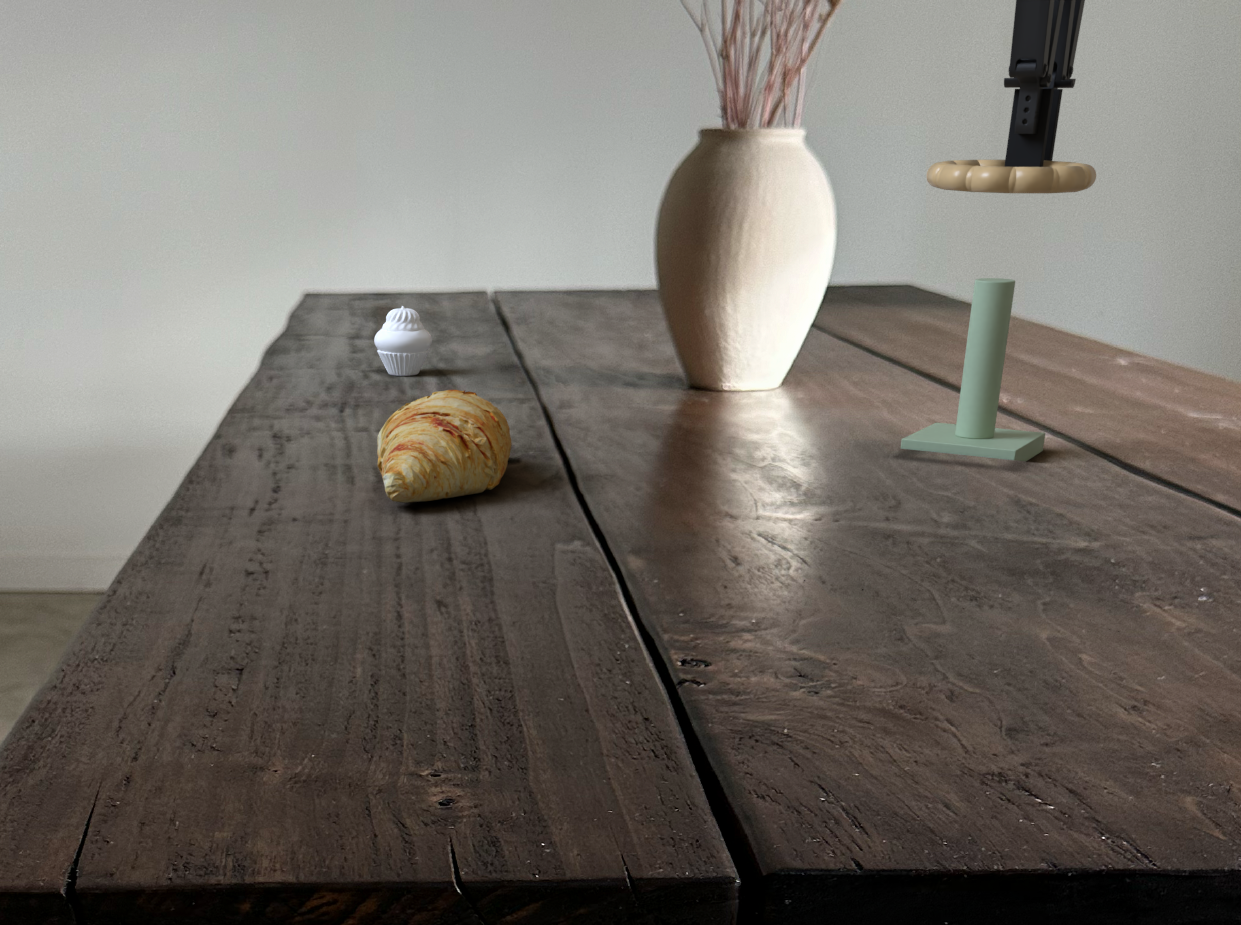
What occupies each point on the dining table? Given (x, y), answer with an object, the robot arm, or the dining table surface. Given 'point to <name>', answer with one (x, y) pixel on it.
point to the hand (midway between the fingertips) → (1026, 179)
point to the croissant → (443, 447)
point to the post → (982, 387)
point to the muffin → (403, 342)
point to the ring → (1010, 177)
